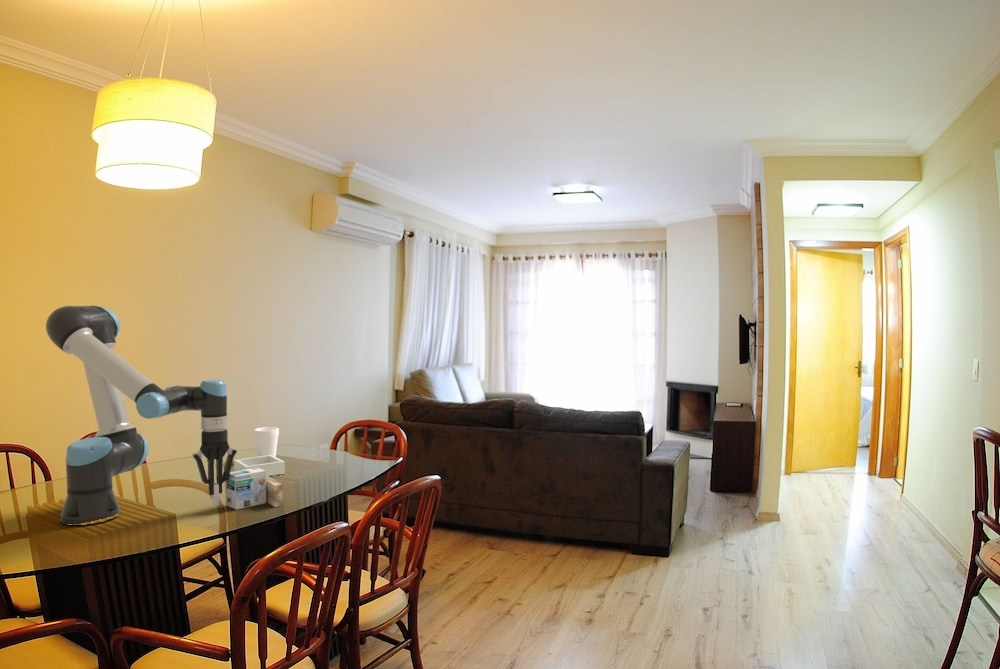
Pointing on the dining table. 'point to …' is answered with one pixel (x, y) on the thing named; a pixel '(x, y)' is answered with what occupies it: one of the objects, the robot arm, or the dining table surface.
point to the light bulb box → (246, 488)
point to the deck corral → (261, 464)
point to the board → (273, 492)
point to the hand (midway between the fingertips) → (215, 504)
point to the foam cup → (266, 440)
